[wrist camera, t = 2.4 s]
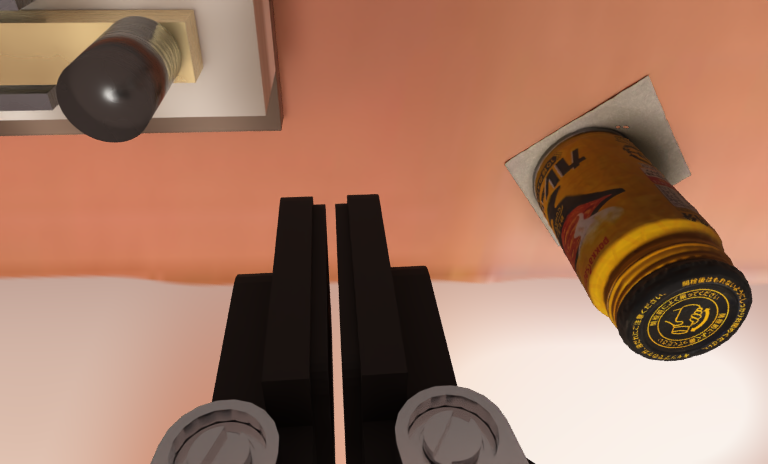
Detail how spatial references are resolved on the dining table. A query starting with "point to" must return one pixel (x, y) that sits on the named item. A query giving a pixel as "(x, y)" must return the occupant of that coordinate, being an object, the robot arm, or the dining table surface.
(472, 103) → the dining table surface
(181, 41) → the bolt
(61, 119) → the grey brown double block
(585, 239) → the condiment
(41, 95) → the lock hardware
